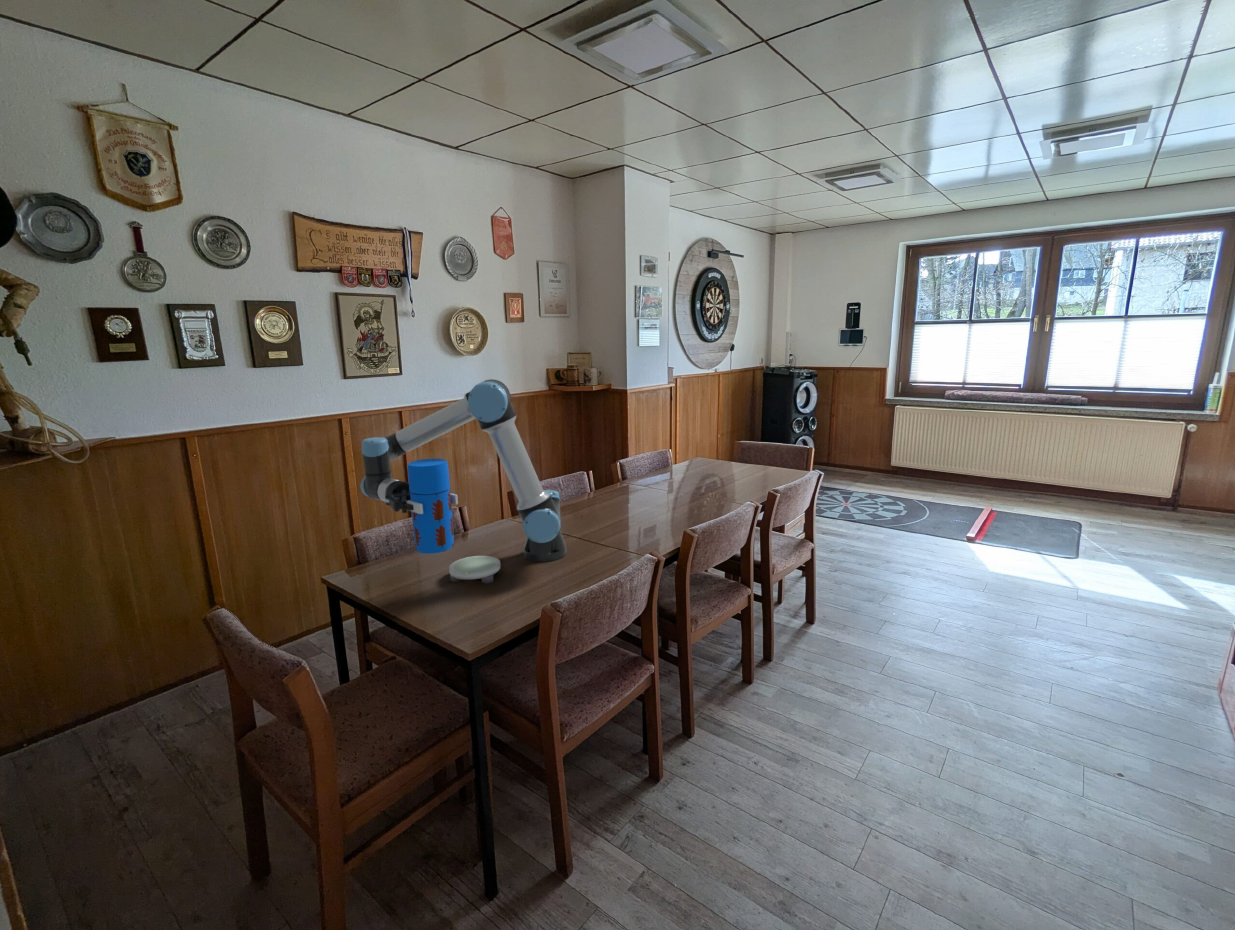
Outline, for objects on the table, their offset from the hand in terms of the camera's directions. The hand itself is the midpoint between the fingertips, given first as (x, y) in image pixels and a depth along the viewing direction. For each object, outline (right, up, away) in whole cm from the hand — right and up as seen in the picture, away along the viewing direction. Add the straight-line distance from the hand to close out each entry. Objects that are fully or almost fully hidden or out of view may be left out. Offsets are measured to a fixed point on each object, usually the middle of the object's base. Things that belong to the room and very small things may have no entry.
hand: (439, 504), depth 160 cm
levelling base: (+4, -25, +25) cm, 36 cm away
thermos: (-3, -13, +5) cm, 14 cm away
